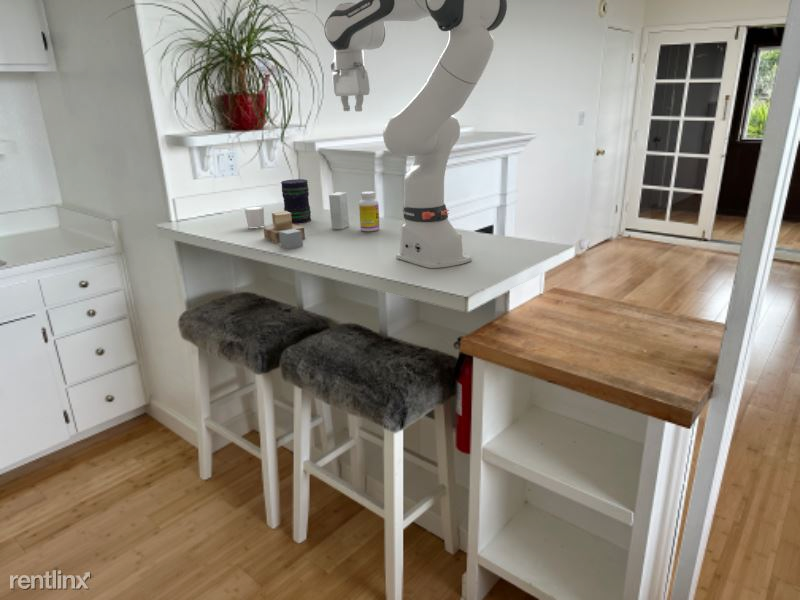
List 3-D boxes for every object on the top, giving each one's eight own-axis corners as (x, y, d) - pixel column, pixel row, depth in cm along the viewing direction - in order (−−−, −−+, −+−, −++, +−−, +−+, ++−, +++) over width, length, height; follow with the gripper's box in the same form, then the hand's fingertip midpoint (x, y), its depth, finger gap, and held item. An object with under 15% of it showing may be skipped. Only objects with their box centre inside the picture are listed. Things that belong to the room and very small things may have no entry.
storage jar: (282, 220, 216) (278, 180, 211) (307, 217, 219) (304, 178, 214) (288, 225, 207) (283, 184, 202) (314, 222, 211) (310, 181, 206)
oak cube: (292, 228, 186) (290, 213, 184) (277, 230, 183) (275, 215, 182) (287, 225, 190) (286, 210, 188) (273, 227, 188) (271, 212, 186)
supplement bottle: (379, 231, 192) (377, 193, 187) (359, 232, 192) (357, 194, 188) (380, 227, 198) (378, 190, 194) (361, 227, 198) (359, 191, 194)
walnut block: (305, 239, 187) (304, 227, 186) (277, 245, 182) (275, 232, 180) (292, 234, 195) (290, 223, 193) (264, 239, 189) (263, 227, 188)
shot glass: (261, 229, 203) (259, 209, 200) (243, 229, 204) (241, 209, 202) (268, 224, 209) (266, 206, 207) (251, 224, 210) (248, 206, 208)
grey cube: (302, 246, 177) (301, 230, 175) (289, 249, 174) (287, 233, 172) (294, 243, 181) (292, 228, 179) (280, 247, 177) (278, 231, 176)
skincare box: (338, 225, 204) (336, 191, 200) (349, 225, 202) (347, 192, 198) (331, 229, 199) (328, 194, 194) (342, 229, 197) (339, 195, 193)
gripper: (373, 61, 165) (375, 111, 170) (346, 65, 182) (349, 110, 187) (353, 61, 162) (356, 112, 167) (328, 65, 179) (331, 111, 184)
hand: (352, 111), depth 177 cm, fingers open, 8 cm apart
